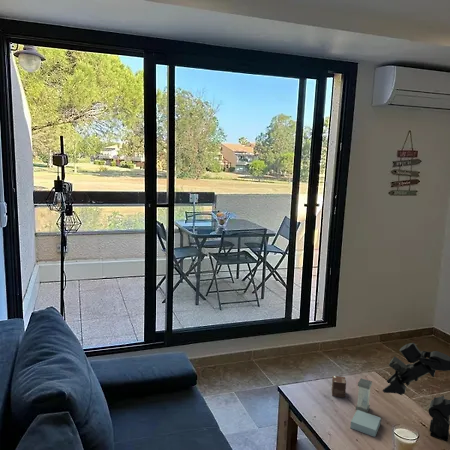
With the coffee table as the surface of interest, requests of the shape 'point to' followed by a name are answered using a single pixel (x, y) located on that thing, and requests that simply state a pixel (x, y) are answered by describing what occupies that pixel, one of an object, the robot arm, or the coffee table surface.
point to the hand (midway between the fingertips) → (385, 386)
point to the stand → (365, 423)
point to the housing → (364, 395)
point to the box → (338, 386)
